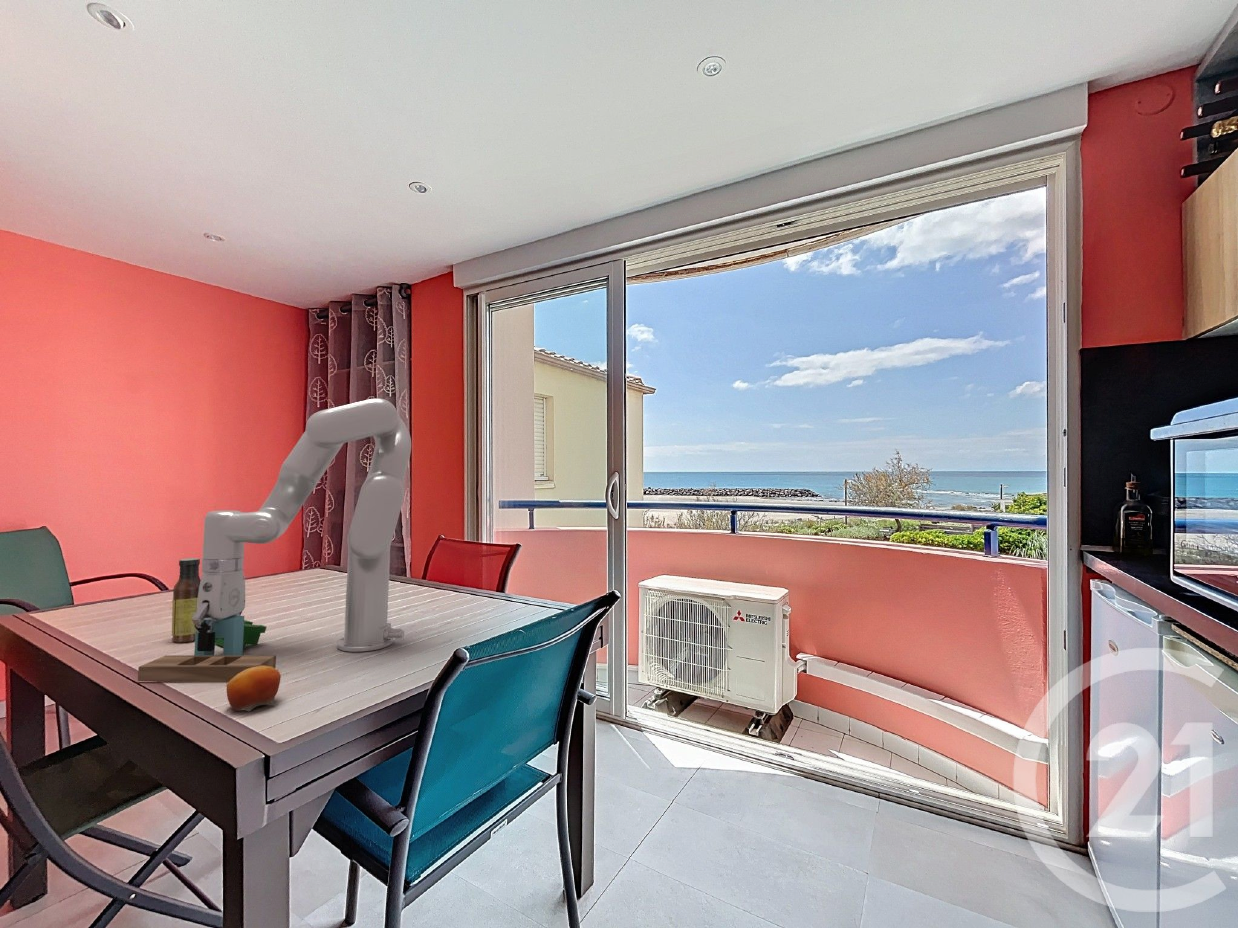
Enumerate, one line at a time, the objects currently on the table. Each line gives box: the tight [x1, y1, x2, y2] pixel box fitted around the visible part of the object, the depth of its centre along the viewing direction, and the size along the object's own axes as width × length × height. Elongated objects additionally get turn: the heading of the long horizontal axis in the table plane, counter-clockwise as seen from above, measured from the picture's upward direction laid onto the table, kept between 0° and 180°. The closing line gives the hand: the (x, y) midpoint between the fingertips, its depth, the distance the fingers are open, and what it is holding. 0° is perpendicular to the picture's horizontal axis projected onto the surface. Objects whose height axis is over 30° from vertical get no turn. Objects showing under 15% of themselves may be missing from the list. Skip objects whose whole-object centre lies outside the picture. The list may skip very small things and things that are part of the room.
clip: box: [193, 615, 245, 655], centre depth 121 cm, size 4×8×9 cm, turn 95°
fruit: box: [225, 666, 282, 713], centre depth 96 cm, size 8×8×8 cm
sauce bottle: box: [171, 557, 201, 644], centre depth 133 cm, size 6×6×20 cm
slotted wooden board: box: [137, 654, 277, 683], centre depth 110 cm, size 7×22×3 cm, turn 95°
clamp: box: [215, 619, 267, 651], centre depth 130 cm, size 12×6×9 cm, turn 52°
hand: (218, 644), depth 120 cm, fingers open, 7 cm apart
